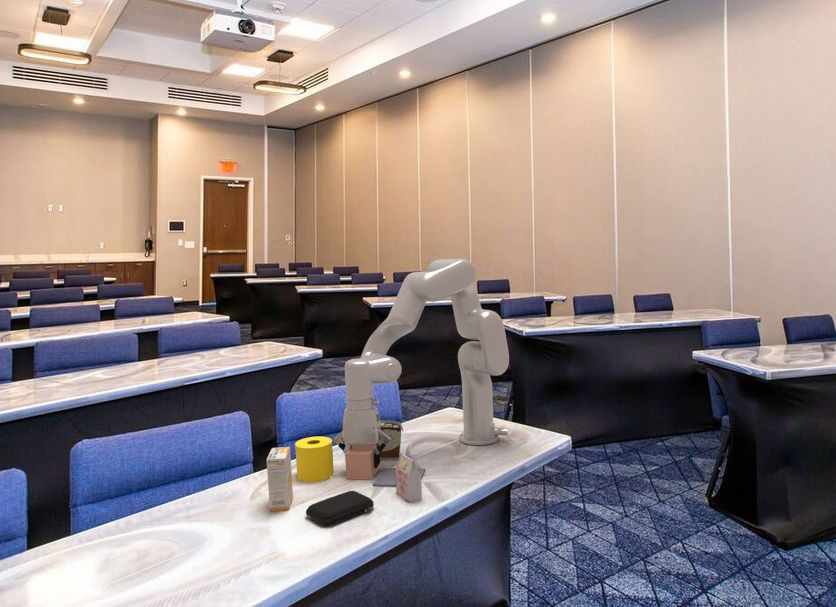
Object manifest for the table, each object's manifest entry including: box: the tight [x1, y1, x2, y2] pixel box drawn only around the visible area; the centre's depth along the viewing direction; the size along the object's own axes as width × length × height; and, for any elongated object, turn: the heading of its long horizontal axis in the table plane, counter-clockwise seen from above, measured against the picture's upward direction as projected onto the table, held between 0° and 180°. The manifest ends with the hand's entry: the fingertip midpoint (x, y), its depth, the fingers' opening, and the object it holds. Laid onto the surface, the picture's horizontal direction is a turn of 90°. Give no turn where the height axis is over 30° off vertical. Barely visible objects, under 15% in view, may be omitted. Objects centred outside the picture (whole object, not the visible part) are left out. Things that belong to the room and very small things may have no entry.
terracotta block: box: [344, 442, 381, 480], centre depth 164 cm, size 7×10×7 cm
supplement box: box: [265, 446, 294, 512], centre depth 145 cm, size 8×5×13 cm, turn 5°
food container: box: [378, 419, 404, 460], centre depth 177 cm, size 12×6×10 cm, turn 84°
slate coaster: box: [372, 467, 426, 488], centre depth 159 cm, size 12×12×1 cm
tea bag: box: [395, 453, 423, 503], centre depth 147 cm, size 4×7×10 cm, turn 28°
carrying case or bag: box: [305, 490, 375, 527], centre depth 139 cm, size 11×3×15 cm
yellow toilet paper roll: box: [294, 436, 335, 483], centre depth 163 cm, size 10×10×9 cm
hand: (363, 465), depth 164 cm, fingers closed on terracotta block, 7 cm apart
